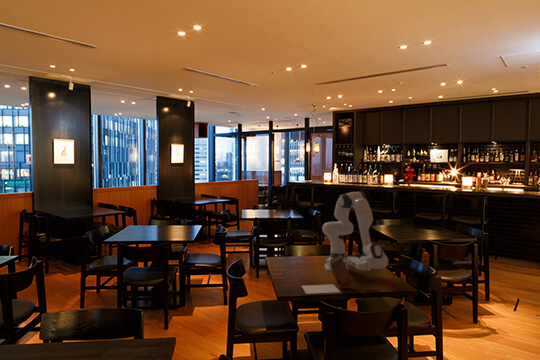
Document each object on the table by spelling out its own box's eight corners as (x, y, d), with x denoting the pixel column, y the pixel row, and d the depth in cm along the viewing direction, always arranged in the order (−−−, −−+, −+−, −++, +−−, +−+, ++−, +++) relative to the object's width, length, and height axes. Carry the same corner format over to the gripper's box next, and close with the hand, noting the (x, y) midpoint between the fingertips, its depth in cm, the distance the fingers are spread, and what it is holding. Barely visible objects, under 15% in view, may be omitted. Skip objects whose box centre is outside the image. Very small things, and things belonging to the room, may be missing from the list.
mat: (301, 286, 240) (301, 285, 240) (333, 284, 243) (333, 284, 243) (306, 293, 225) (306, 293, 225) (340, 292, 229) (340, 291, 229)
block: (352, 280, 240) (340, 254, 238) (354, 284, 232) (342, 257, 231) (338, 286, 241) (326, 260, 239) (339, 290, 233) (327, 264, 232)
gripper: (358, 254, 248) (340, 254, 246) (371, 261, 227) (350, 262, 226) (358, 263, 248) (339, 263, 246) (370, 271, 228) (350, 272, 226)
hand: (345, 263), depth 236 cm, fingers closed
